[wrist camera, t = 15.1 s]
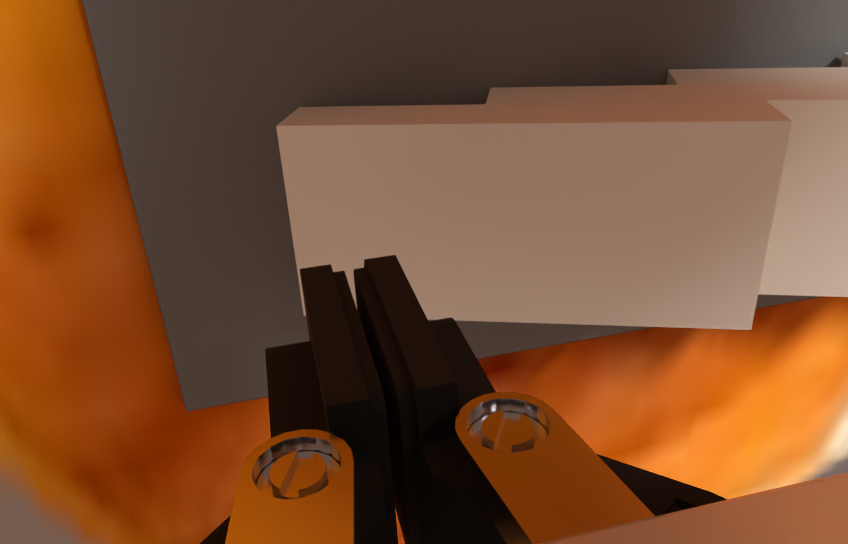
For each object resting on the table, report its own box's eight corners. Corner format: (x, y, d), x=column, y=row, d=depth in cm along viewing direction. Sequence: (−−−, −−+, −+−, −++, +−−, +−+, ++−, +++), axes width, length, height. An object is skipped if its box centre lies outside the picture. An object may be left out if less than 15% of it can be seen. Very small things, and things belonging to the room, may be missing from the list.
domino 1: (303, 315, 18) (751, 329, 16) (276, 126, 16) (791, 120, 14) (322, 283, 19) (732, 293, 18) (299, 107, 17) (765, 100, 16)
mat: (187, 403, 21) (186, 411, 20) (77, -35, 15) (73, -35, 15) (956, 265, 26) (966, 270, 26) (1077, -95, 21) (1092, -95, 20)
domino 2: (486, 286, 19) (929, 299, 17) (485, 103, 17) (994, 97, 15) (491, 257, 20) (896, 267, 19) (490, 87, 18) (950, 80, 16)
